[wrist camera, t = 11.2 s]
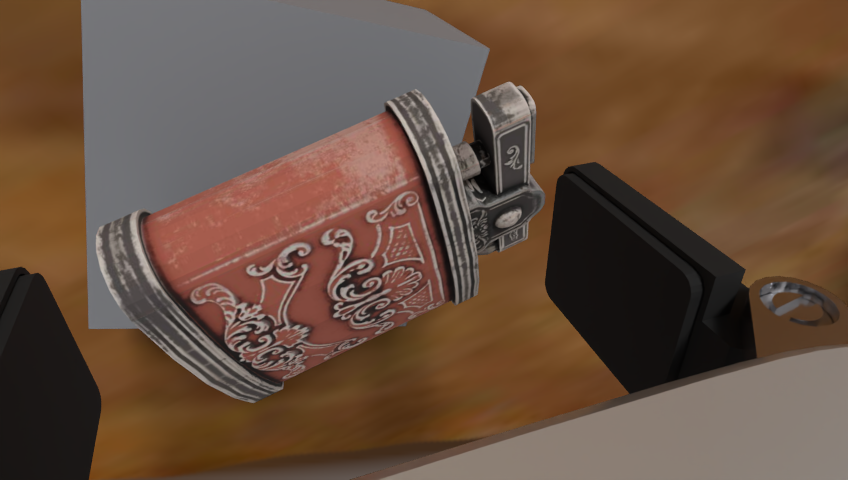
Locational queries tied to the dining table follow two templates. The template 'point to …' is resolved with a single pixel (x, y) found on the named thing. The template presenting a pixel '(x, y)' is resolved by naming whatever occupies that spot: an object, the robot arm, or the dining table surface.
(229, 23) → the gray block
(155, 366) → the dining table surface
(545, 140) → the dining table surface
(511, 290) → the dining table surface
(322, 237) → the lighter
